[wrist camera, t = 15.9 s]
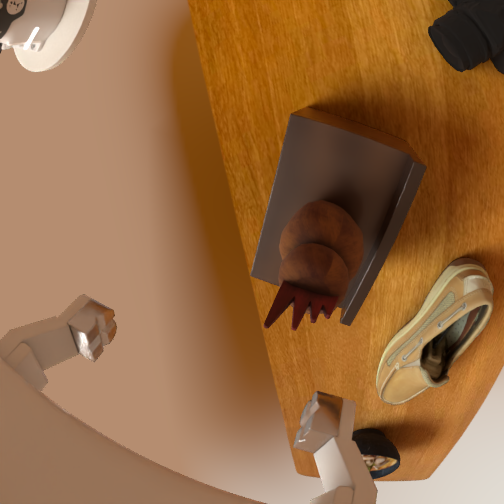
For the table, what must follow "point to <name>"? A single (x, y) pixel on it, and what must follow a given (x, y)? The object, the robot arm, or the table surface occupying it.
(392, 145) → the display shelf
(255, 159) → the table surface
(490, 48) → the film camera
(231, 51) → the table surface
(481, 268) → the boat shoe
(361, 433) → the bowl
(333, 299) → the wooden figurine
